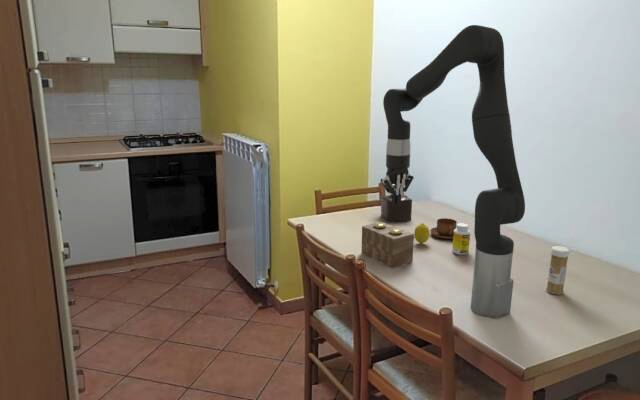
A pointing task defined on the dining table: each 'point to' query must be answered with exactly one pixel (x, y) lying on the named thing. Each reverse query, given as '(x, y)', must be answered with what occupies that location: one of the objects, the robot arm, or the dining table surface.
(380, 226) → the far peg
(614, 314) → the dining table surface
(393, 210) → the manual coffee grinder
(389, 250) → the brown wooden block
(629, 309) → the dining table surface
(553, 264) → the sprinkles bottle
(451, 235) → the cup and saucer
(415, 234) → the lemon
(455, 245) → the supplement bottle
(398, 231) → the near peg
